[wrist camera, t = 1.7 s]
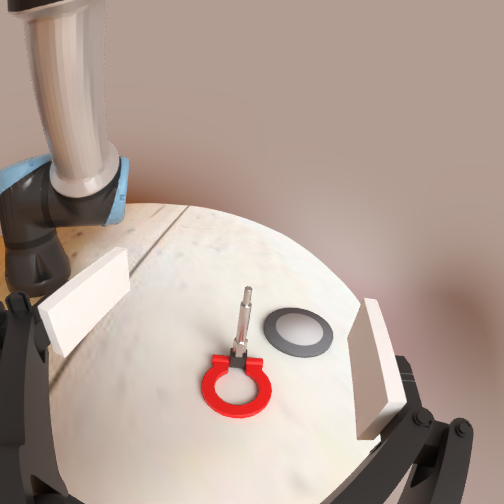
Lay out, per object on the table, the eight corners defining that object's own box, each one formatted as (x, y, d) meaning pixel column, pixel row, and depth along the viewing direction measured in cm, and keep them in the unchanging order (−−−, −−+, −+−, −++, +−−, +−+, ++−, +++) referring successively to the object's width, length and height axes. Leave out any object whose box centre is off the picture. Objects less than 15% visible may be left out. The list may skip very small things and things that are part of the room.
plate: (258, 311, 46) (259, 307, 46) (318, 310, 48) (319, 306, 48) (272, 359, 37) (273, 355, 36) (341, 353, 39) (343, 349, 38)
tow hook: (271, 421, 28) (267, 363, 36) (300, 352, 22) (287, 287, 30) (198, 416, 27) (205, 358, 35) (196, 344, 21) (208, 279, 29)
